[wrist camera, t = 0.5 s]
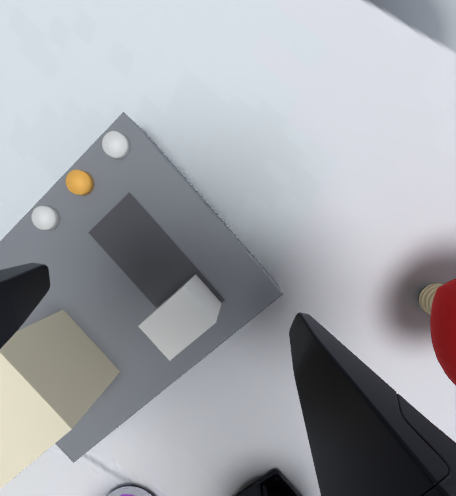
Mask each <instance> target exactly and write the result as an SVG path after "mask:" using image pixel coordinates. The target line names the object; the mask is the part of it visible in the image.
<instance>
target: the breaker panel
mask: <svg viewBox="0 0 456 496" xmlns="http://www.w3.org/2000/svg"><path fill="white" fill-rule="evenodd" d="M28 263H40V264H45V265H47V266H48V269H49V277H50V289H49V291H48V292H47V294H46V295H45V296H44V298H43V299H42V300H41V301H40V303H39V304H38V305H37V307H36V308H35V309H34V311H33V312H32V313H31V314H30V316H29V317H28V318H27V320H26V321H25V322H24V323H23V325H22V326H21V327H20V328H19V330H21V329H23V328H25V327H27V326H29V325H31V324H33V323H36V322H38V321H40V320H42V319H44V318H46V317H48V316H50V315H52V314H55V313H57V312H59V311H61V310H64V311H65V312H66V313H67V314H68V315H69V316H70V317H71V318H72V319H73V320H74V322H75V323H76V324H77V325H78V326H79V327H80V328H81V329H82V330H83V331H84V332H85V334H86V335H87V336H88V337H89V338H90V339H91V340H92V341H93V342H94V343H95V344H96V346H97V347H98V348H99V349H100V350H101V351H102V352H103V353H104V354H105V355H106V356H107V358H108V359H109V360H110V361H111V362H112V363H113V364H114V365H115V366H116V367H117V368H118V370H119V371H120V373H119V374H118V375H117V376H116V377H115V379H114V380H113V381H112V382H111V383H110V385H109V386H108V387H107V388H106V389H105V391H104V392H103V393H102V394H101V395H100V396H99V398H98V399H97V400H96V401H95V402H94V404H93V405H92V406H91V407H90V408H89V410H88V411H87V412H86V413H85V414H84V415H83V417H82V418H81V419H80V420H79V421H78V423H77V424H76V425H75V426H74V427H73V428H72V430H70V431H69V432H68V433H67V434H66V435H64V436H63V437H62V438H61V439H60V440H58V441H57V442H56V443H55V444H56V445H57V446H58V447H59V448H60V449H61V450H62V451H63V452H64V453H65V454H66V455H67V456H68V457H69V458H70V460H71V461H72V462H73V463H74V462H75V461H76V460H77V459H79V458H80V457H81V456H82V455H84V454H85V453H86V452H87V451H89V450H90V449H91V448H92V447H94V446H95V445H96V444H97V443H99V442H100V441H101V440H102V439H103V438H105V437H106V436H107V435H108V434H110V433H111V432H112V431H113V430H115V429H116V428H117V427H118V426H120V425H121V424H122V423H123V422H125V421H126V420H127V419H128V418H130V417H131V416H132V415H133V414H135V413H136V412H137V411H138V410H140V409H141V408H142V407H143V406H144V405H146V404H147V403H148V402H149V401H151V400H152V399H153V398H154V397H156V396H157V395H158V394H159V393H161V392H162V391H163V390H164V389H166V388H167V387H168V386H169V385H171V384H172V383H173V382H174V381H176V380H177V379H178V378H179V377H181V376H182V375H183V374H184V373H185V372H187V371H188V370H189V369H190V368H192V367H193V366H194V365H195V364H197V363H198V362H199V361H200V360H202V359H203V358H204V357H205V356H207V355H208V354H209V353H210V352H212V351H213V350H214V349H215V348H217V347H218V346H219V345H220V344H222V343H223V342H224V341H225V340H226V339H228V338H229V337H230V336H231V335H233V334H234V333H235V332H236V331H238V330H239V329H240V328H241V327H243V326H244V325H245V324H246V323H248V322H249V321H250V320H251V319H253V318H254V317H255V316H256V315H258V314H259V313H260V312H261V311H263V310H264V309H265V308H266V307H267V306H269V305H270V304H271V303H272V302H274V301H275V300H276V299H277V298H279V297H280V296H281V295H282V292H281V290H280V288H279V286H278V284H277V283H276V282H275V281H274V279H273V278H272V277H271V276H270V275H269V274H268V273H267V271H266V270H265V269H264V268H263V267H262V266H261V265H260V263H259V262H258V261H257V260H256V259H255V258H254V257H253V255H252V254H251V253H250V252H249V251H248V250H247V249H246V247H245V246H244V245H243V244H242V243H241V242H240V241H239V239H238V238H237V237H236V236H235V235H234V234H233V233H232V231H231V230H230V229H229V228H228V227H227V226H226V225H225V223H224V222H223V221H222V220H221V219H220V218H219V217H218V215H217V214H216V213H215V212H214V211H213V210H212V209H211V207H210V206H209V205H208V204H207V203H206V202H205V201H204V199H203V198H202V197H201V196H200V195H199V194H198V193H197V191H196V190H195V189H194V188H193V187H192V186H191V185H190V183H189V182H188V181H187V180H186V179H185V178H184V177H183V175H182V174H181V173H180V172H179V171H178V170H177V169H176V167H175V166H174V165H173V164H172V163H171V162H170V161H169V159H168V158H167V157H166V156H165V155H164V154H163V153H162V151H161V150H160V149H159V148H158V147H157V146H156V145H155V143H154V142H153V141H152V140H151V139H150V138H149V137H148V135H147V134H146V133H145V132H144V131H143V130H142V129H141V128H140V127H139V126H138V125H137V124H136V123H135V122H134V121H133V120H132V119H130V118H129V117H128V116H127V115H126V114H125V113H124V112H123V113H122V114H121V115H120V116H119V117H118V118H117V119H116V120H115V121H114V123H113V124H112V125H111V126H110V127H109V128H108V129H107V130H106V131H105V132H104V133H103V134H102V135H101V136H100V137H99V138H98V139H97V140H96V141H95V143H94V144H93V145H92V146H91V147H90V148H89V149H88V150H87V151H86V152H85V153H84V154H83V155H82V156H81V157H80V158H79V159H78V160H77V161H76V162H75V164H74V165H73V166H72V167H71V168H70V169H69V170H68V171H67V172H66V173H65V174H64V175H63V176H62V177H61V178H60V179H59V180H58V181H57V182H56V184H55V185H54V186H53V187H52V188H51V189H50V190H49V191H48V192H47V193H46V194H45V195H44V196H43V197H42V198H41V199H40V200H39V201H38V202H37V203H36V205H35V206H34V207H33V208H32V209H31V210H30V211H29V212H28V213H27V214H26V215H25V216H24V217H23V218H22V219H21V220H20V221H19V222H18V223H17V225H16V226H15V227H14V228H13V229H12V230H11V231H10V232H9V233H8V234H7V235H6V236H5V237H4V238H3V239H2V240H1V241H0V270H2V269H6V268H10V267H15V266H19V265H23V264H28ZM195 274H196V275H197V276H198V277H199V278H200V279H201V281H202V282H203V283H204V284H205V285H206V286H207V287H208V288H209V290H210V291H211V292H212V293H213V294H214V295H215V296H216V297H217V299H218V300H219V301H220V302H221V303H222V304H221V307H220V311H219V314H218V317H217V321H216V323H215V324H214V325H213V326H211V327H210V328H209V329H208V330H207V331H205V332H204V333H203V334H202V335H200V336H199V337H198V338H197V339H196V340H194V341H193V342H192V343H191V344H190V345H188V346H187V347H186V348H185V349H183V350H182V351H181V352H180V353H179V354H177V355H176V356H175V357H174V358H173V359H171V360H170V361H169V360H168V359H167V357H166V356H165V355H164V354H163V353H162V352H161V351H160V350H159V349H158V348H157V346H156V345H155V344H154V343H153V342H152V341H151V340H150V339H149V338H148V337H147V335H146V334H145V333H144V332H143V331H142V330H141V329H140V328H139V327H138V326H139V325H140V324H141V323H142V322H143V321H144V320H145V319H146V318H147V317H148V316H149V315H150V314H151V313H153V312H154V311H155V310H156V309H157V308H158V307H159V306H160V305H161V304H162V303H163V302H165V301H166V300H167V299H168V298H169V297H170V296H171V295H173V294H174V293H175V292H176V291H177V290H178V289H179V288H181V287H182V286H183V285H184V284H185V283H186V282H187V281H189V280H190V279H191V278H192V277H193V276H194V275H195ZM19 330H18V331H19Z"/></svg>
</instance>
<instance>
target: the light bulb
mask: <svg viewBox="0 0 456 496" xmlns="http://www.w3.org/2000/svg"><path fill="white" fill-rule="evenodd" d="M419 304H420V306H421V308H422V309H423V310H424V311H425V312H426V313H428V314H430V315H431V317H430V327H431V338H432V344H433V347H434V351H435V354H436V357H437V359H438V361H439V363H440V365H441V367H442V368H443V370H444V372H445V374H446V375H447V376H448V378H449V379H450V380H451V381H452V382H453V383H454V384H455V385H456V279H453V280H451V281H449V282H447V283H446V284H441V283H435V284H431V285H428V286H427V287H425V288H424V289H423V290H422V292H421V293H420V296H419Z"/></svg>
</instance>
